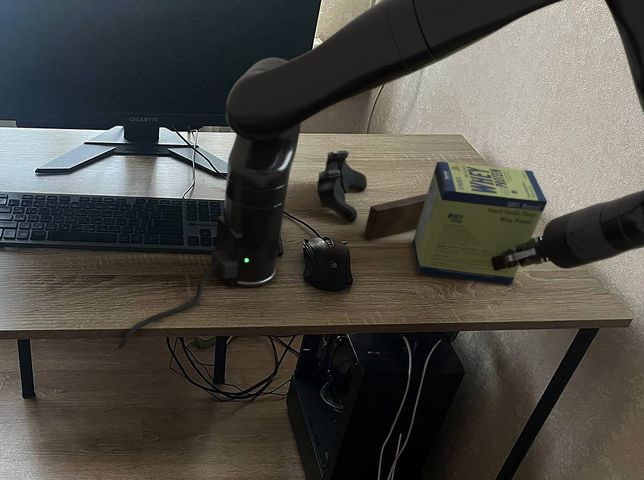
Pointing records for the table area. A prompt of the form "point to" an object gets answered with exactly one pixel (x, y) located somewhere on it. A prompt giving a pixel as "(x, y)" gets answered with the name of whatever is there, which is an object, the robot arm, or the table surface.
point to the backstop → (394, 217)
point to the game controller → (339, 185)
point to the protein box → (475, 220)
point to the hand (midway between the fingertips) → (495, 263)
